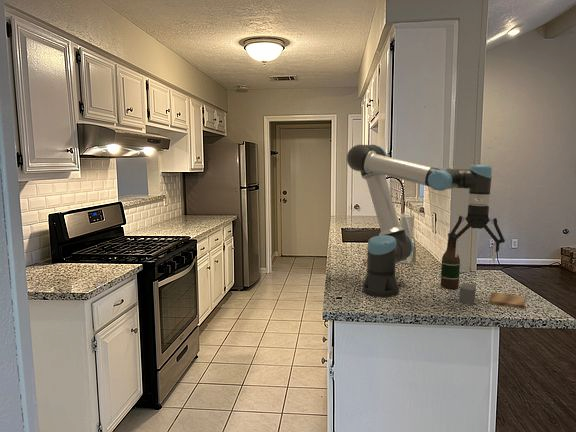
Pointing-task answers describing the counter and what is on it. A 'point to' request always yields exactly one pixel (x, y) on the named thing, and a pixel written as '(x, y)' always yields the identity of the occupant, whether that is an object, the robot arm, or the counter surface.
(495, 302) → the walnut board
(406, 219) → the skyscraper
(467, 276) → the counter surface
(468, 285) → the plug
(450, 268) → the beer bottle
